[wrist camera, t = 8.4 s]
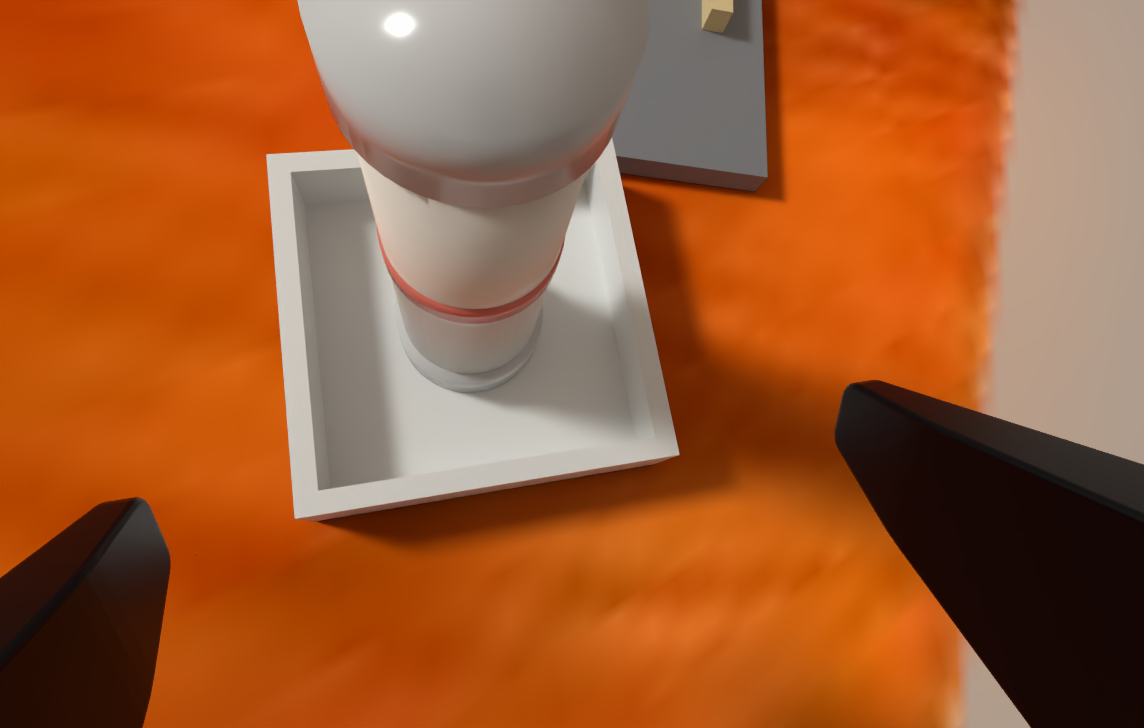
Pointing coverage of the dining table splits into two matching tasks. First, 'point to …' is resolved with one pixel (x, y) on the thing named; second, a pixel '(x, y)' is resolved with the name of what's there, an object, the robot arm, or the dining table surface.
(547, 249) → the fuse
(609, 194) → the parts tray
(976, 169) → the dining table surface
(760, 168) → the panel
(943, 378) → the dining table surface
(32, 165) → the dining table surface
